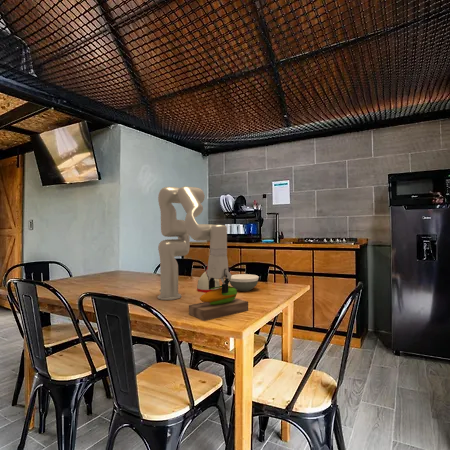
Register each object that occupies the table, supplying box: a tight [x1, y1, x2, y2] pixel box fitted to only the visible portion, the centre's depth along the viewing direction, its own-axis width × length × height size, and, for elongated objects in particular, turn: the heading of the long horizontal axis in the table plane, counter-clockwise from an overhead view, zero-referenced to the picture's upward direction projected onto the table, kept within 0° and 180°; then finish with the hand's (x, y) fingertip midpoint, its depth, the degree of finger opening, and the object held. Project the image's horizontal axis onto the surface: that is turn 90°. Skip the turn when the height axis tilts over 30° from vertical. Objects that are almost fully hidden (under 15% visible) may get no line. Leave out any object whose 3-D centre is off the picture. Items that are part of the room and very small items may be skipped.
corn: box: [199, 285, 238, 305], centre depth 133 cm, size 7×8×20 cm
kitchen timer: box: [196, 265, 221, 294], centre depth 184 cm, size 14×14×15 cm
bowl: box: [229, 273, 260, 292], centre depth 184 cm, size 19×19×8 cm
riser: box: [188, 297, 249, 322], centre depth 134 cm, size 12×24×4 cm, turn 128°
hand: (218, 291), depth 134 cm, fingers open, 9 cm apart
